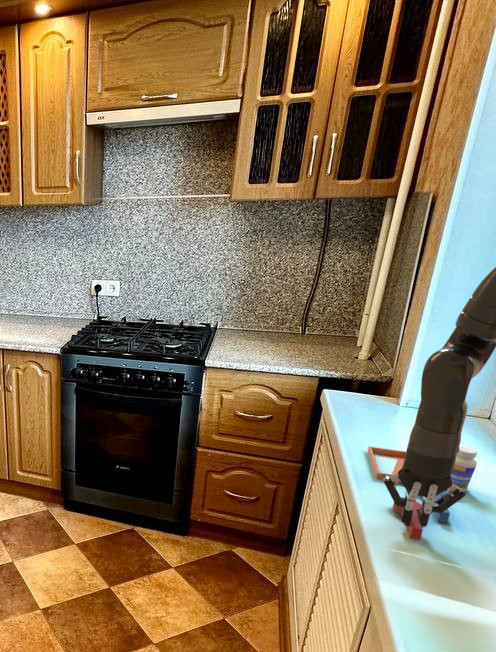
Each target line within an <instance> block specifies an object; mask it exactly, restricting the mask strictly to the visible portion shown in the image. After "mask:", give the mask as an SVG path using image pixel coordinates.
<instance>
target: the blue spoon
mask: <svg viewBox="0 0 496 652" xmlns="http://www.w3.org/2000/svg"><path fill="white" fill-rule="evenodd" d="M446 493H447V492H446V490H445V491H443V492H442V493H440V494H439V495H437V496H435V501H434V502H436V501H437V500H438V499H440V498H441V497H442V496H444V495H445V494H446ZM418 497H419V498H420V499H422V500H423V496H418ZM433 513H434V516H435V518H436V521H437V522H439V523H444V524H448V522H449V518H450V516H451V513H450V511H449V508H448V509H447V510H445V511H444V512H443V513H437V512H433Z"/></svg>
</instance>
